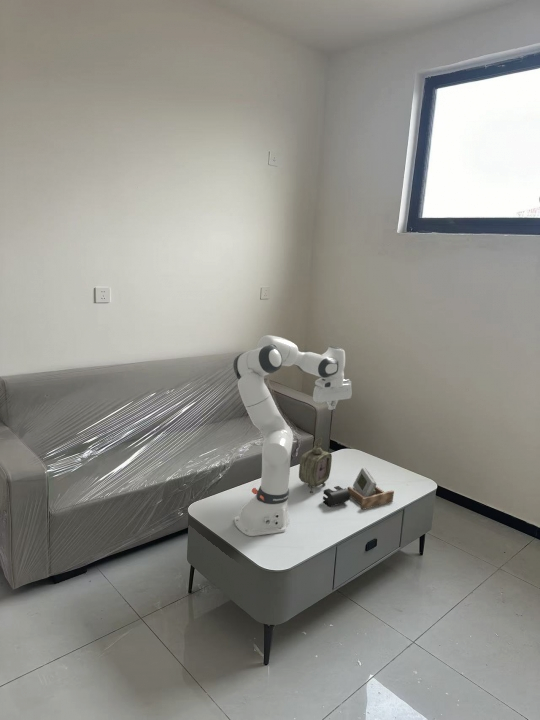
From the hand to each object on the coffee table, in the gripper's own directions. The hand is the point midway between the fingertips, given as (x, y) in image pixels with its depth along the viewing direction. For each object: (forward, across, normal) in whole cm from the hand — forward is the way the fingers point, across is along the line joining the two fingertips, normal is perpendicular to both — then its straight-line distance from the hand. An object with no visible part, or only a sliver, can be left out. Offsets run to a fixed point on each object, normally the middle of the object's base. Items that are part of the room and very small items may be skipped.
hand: (331, 409), depth 235 cm
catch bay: (+36, -7, +22) cm, 43 cm away
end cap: (+36, +10, +21) cm, 43 cm away
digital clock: (+37, -7, +19) cm, 42 cm away
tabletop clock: (+36, +11, +5) cm, 38 cm away
